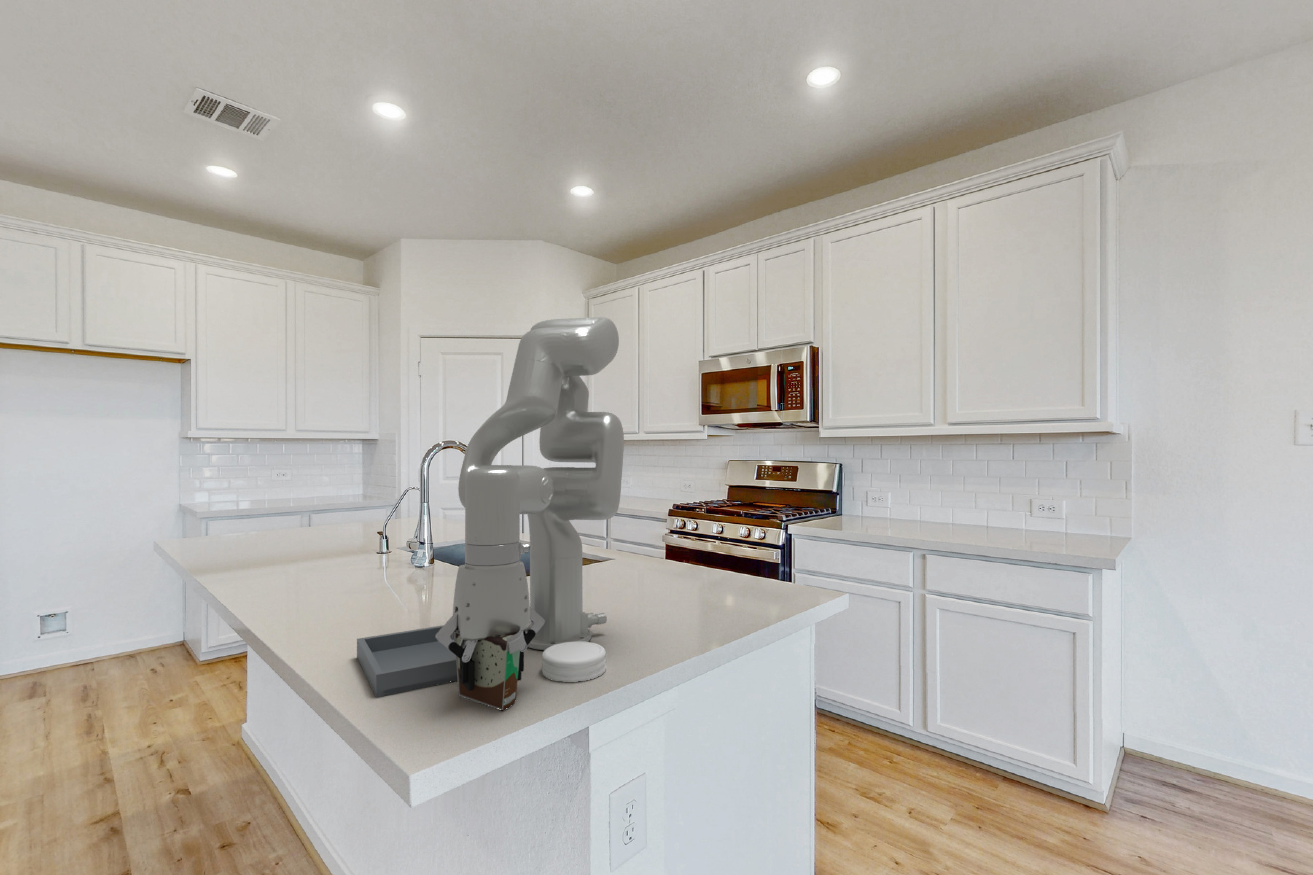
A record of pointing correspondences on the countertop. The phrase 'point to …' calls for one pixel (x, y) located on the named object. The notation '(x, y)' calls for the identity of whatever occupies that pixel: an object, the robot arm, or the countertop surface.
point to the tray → (406, 661)
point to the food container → (494, 669)
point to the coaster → (574, 661)
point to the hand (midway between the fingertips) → (492, 681)
